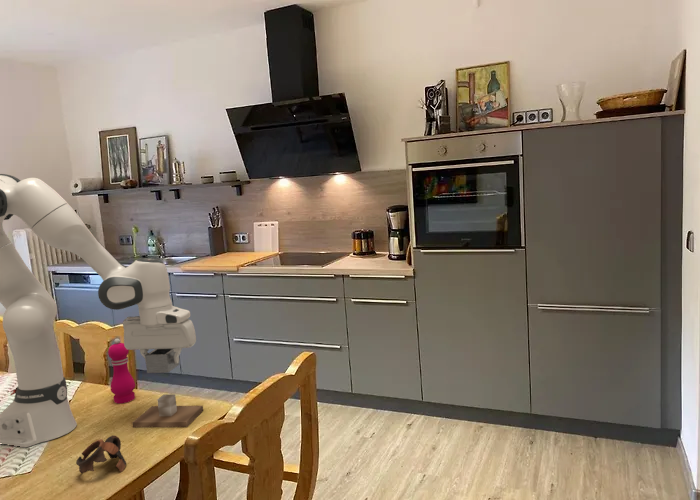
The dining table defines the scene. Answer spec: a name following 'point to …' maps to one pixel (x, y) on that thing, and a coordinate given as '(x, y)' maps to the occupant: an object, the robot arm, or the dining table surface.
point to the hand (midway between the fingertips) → (162, 363)
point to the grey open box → (160, 361)
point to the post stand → (168, 414)
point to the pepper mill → (121, 374)
